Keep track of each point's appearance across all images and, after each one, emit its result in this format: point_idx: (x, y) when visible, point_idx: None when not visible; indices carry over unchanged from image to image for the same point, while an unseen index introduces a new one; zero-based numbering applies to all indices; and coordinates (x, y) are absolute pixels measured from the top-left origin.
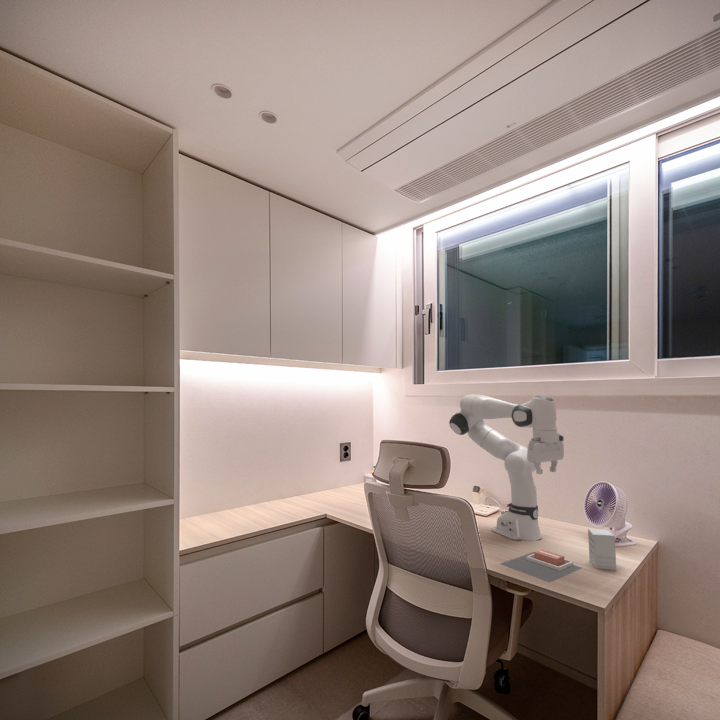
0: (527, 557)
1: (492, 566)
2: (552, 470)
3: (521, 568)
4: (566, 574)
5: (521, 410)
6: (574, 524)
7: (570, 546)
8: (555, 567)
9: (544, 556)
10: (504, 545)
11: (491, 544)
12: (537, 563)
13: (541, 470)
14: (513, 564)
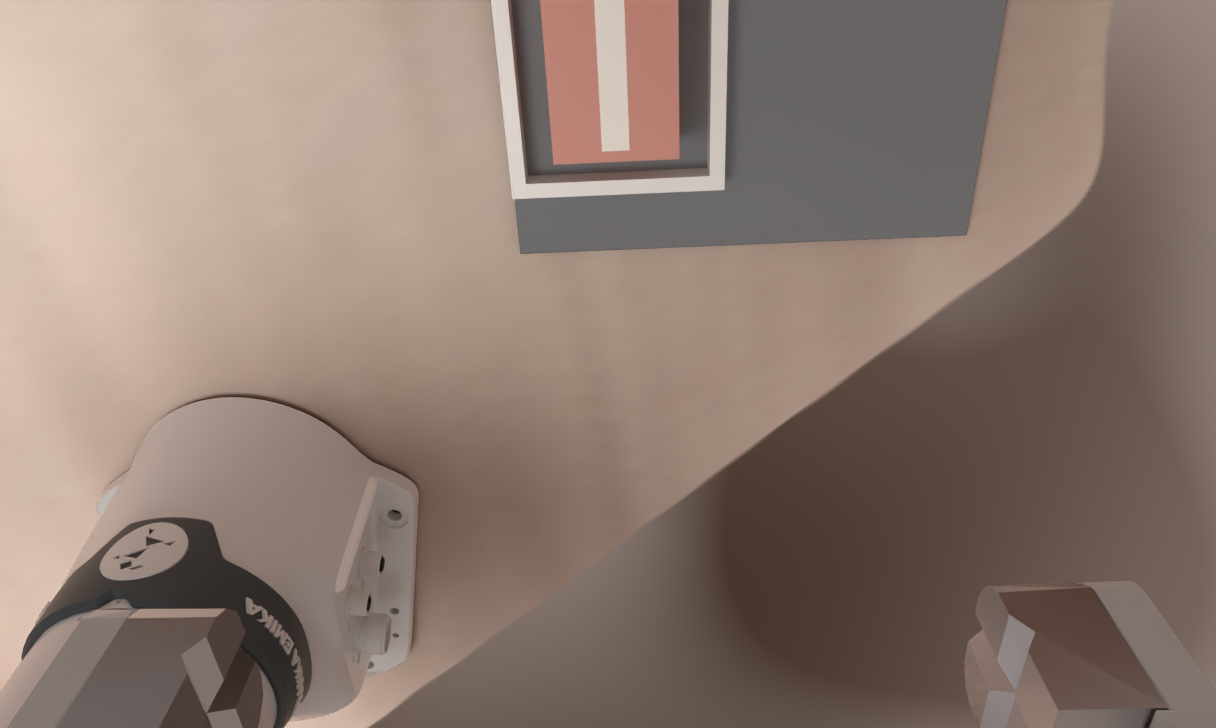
0: (723, 178)
1: (1035, 240)
2: (223, 675)
3: (933, 83)
4: None
5: None
6: None
7: (88, 183)
8: None
9: (678, 56)
10: (575, 449)
11: (640, 501)
12: None
13: (1115, 679)
14: (901, 171)
